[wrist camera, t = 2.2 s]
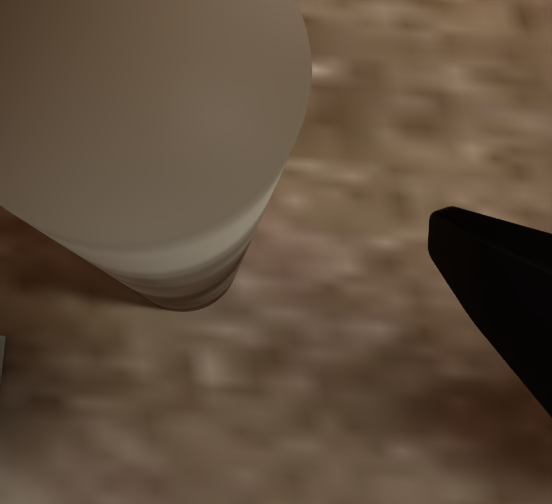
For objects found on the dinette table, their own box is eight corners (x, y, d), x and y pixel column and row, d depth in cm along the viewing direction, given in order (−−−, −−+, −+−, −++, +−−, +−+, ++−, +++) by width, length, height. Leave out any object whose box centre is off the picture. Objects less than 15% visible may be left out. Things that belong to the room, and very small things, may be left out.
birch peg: (236, 313, 19) (309, 251, 5) (125, 310, 18) (-108, 232, 5) (239, 208, 20) (313, -86, 6) (133, 203, 19) (-53, -133, 5)
